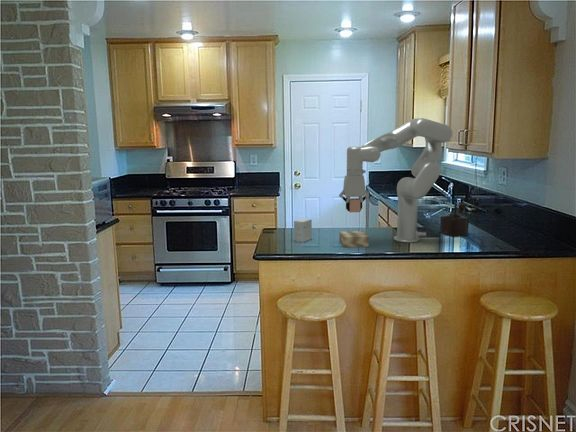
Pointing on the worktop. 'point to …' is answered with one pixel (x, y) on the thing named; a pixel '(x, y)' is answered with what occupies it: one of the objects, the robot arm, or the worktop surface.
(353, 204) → the terracotta block
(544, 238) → the worktop surface
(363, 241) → the maple base block
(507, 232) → the worktop surface
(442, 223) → the dark brown boxy piece
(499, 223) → the worktop surface
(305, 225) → the small box
